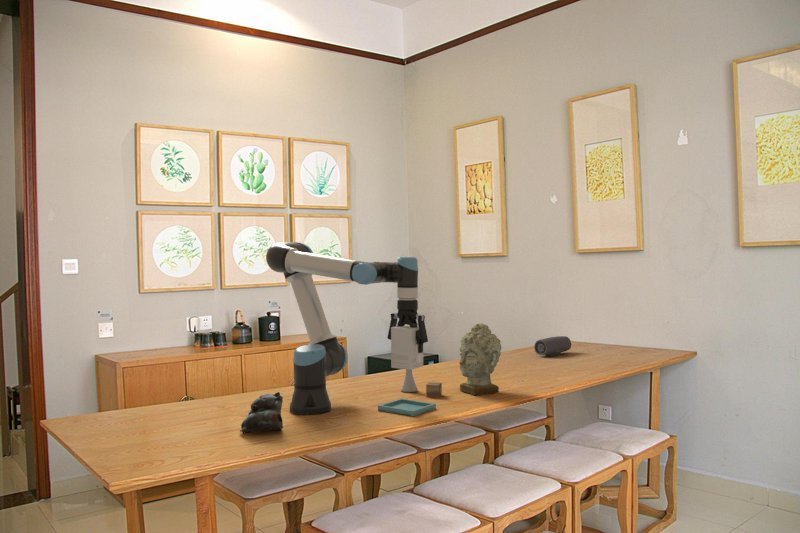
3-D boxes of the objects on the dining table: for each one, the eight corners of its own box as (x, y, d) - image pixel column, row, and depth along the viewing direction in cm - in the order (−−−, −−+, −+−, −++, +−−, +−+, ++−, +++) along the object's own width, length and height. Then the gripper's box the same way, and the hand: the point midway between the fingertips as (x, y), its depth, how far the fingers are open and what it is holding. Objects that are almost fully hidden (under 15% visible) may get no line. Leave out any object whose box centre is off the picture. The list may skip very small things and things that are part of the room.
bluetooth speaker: (558, 352, 370) (558, 334, 370) (572, 353, 363) (572, 335, 362) (533, 356, 355) (533, 338, 355) (547, 358, 348) (547, 339, 348)
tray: (412, 416, 227) (412, 411, 227) (377, 410, 237) (377, 405, 237) (435, 408, 238) (435, 403, 238) (401, 403, 248) (401, 398, 248)
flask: (416, 393, 265) (415, 368, 265) (399, 392, 267) (398, 368, 267) (419, 389, 273) (418, 365, 272) (402, 389, 274) (401, 365, 274)
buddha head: (449, 390, 269) (448, 323, 269) (486, 386, 278) (485, 320, 278) (472, 398, 254) (471, 327, 254) (510, 393, 263) (509, 324, 262)
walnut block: (438, 397, 256) (438, 385, 256) (426, 397, 258) (426, 384, 258) (441, 395, 261) (441, 382, 261) (429, 394, 263) (429, 382, 263)
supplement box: (424, 366, 239) (424, 326, 239) (411, 370, 232) (411, 328, 231) (403, 364, 244) (403, 324, 244) (390, 367, 236) (390, 326, 236)
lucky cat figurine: (231, 433, 209) (236, 391, 215) (260, 440, 217) (264, 399, 224) (263, 425, 201) (267, 382, 207) (291, 433, 209) (294, 391, 216)
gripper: (438, 300, 234) (437, 362, 234) (390, 297, 247) (389, 356, 247) (426, 301, 228) (426, 365, 228) (377, 298, 241) (377, 358, 241)
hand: (407, 360), depth 238 cm, fingers closed on supplement box, 9 cm apart
